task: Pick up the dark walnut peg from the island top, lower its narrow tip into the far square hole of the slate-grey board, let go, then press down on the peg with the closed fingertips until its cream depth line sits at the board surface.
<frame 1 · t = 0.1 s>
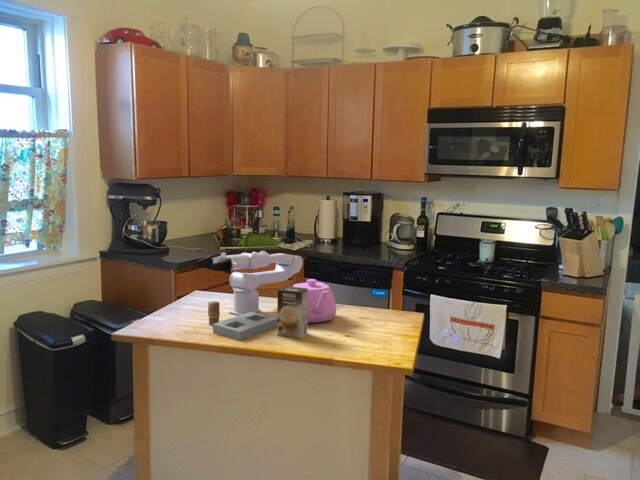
hand: (204, 265, 187), 22 cm above the countertop, tool horizontal, fingers open, 7 cm apart
teapot: (312, 319, 198), on the countertop
walnut peg: (214, 324, 191), on the countertop
coffee box: (292, 335, 181), on the countertop
slate board: (246, 329, 186), on the countertop
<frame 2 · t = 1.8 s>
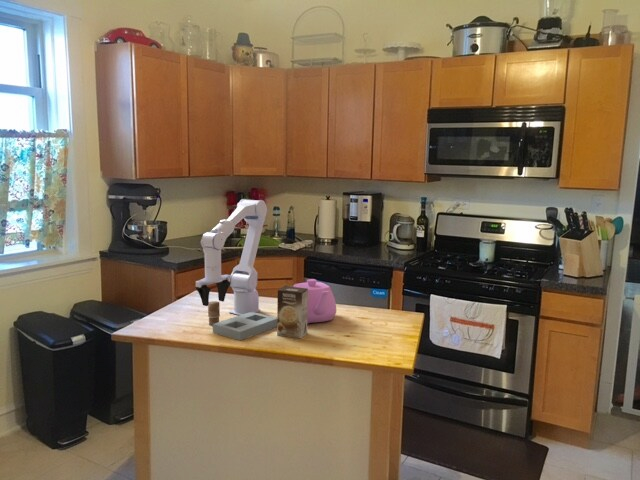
hand: (213, 303, 190), 8 cm above the countertop, tool pointing down, fingers open, 7 cm apart
nothing on the countertop moved.
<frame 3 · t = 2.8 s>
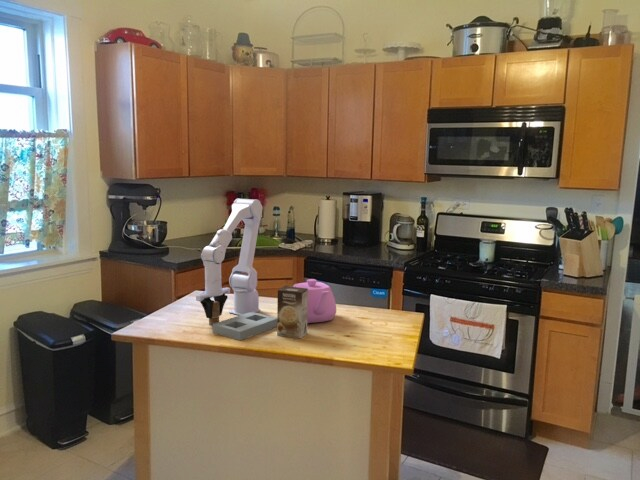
hand: (213, 316, 190), 3 cm above the countertop, tool pointing down, fingers closed on walnut peg, 4 cm apart
walnut peg: (214, 324, 191), on the countertop, touching gripper
everything else where it was.
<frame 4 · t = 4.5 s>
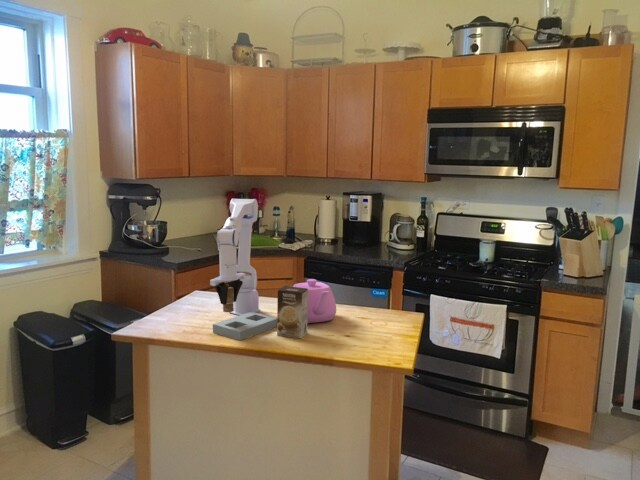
hand: (228, 302, 183), 10 cm above the countertop, tool pointing down, fingers closed on walnut peg, 4 cm apart
walnut peg: (228, 310, 183), point 7 cm above the countertop, touching gripper
everything else where it was.
when the fingers open (4 cm above the countertop, at t = 6.3 s): walnut peg drops 1 cm, resting in slate board.
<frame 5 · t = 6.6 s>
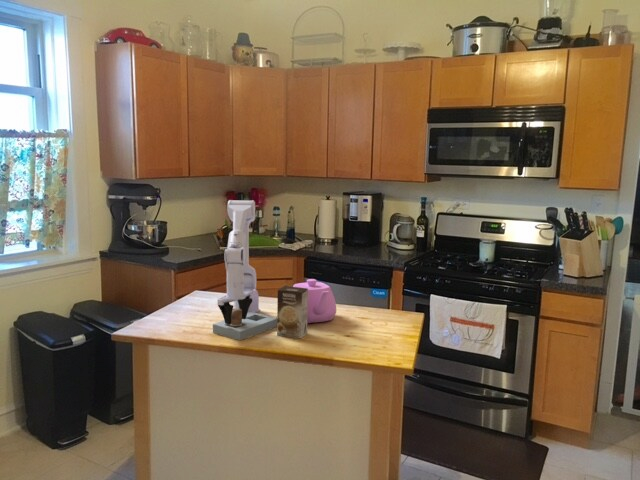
hand: (235, 321, 181), 4 cm above the countertop, tool pointing down, fingers open, 7 cm apart
walnut peg: (235, 332, 182), resting in slate board
everything else where it was.
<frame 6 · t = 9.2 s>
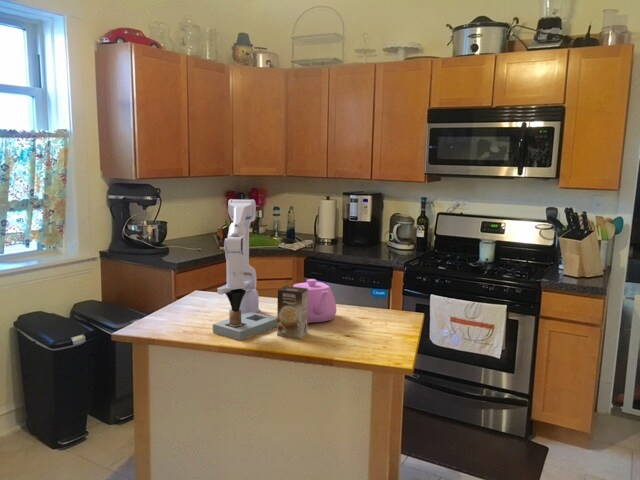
hand: (235, 310, 180), 8 cm above the countertop, tool pointing down, fingers closed, pressing on walnut peg
walnut peg: (235, 333, 182), resting in slate board, touching gripper
everything else where it was.
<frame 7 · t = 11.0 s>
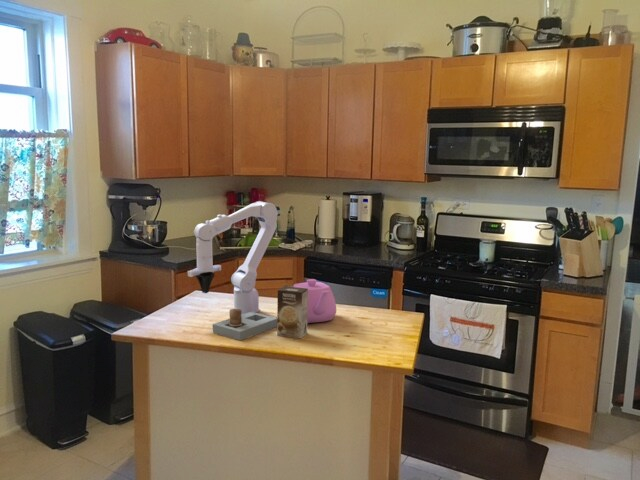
hand: (205, 292, 196), 10 cm above the countertop, tool pointing down, fingers closed
walnut peg: (235, 332, 182), resting in slate board
everything else where it was.
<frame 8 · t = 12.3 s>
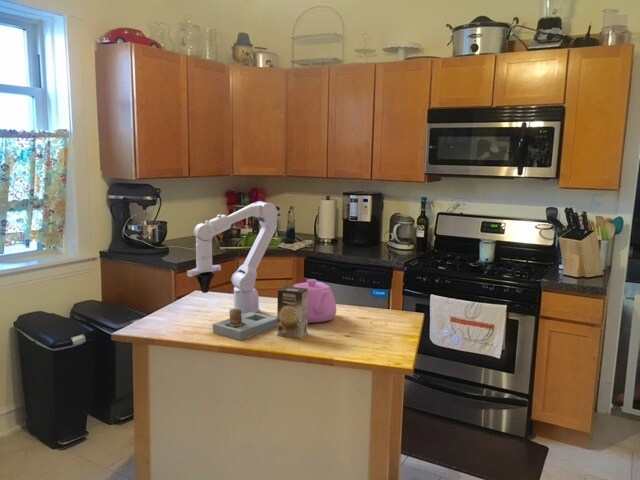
hand: (204, 292, 196), 10 cm above the countertop, tool pointing down, fingers closed
nothing on the countertop moved.
at the end: walnut peg 0.1 cm from the target spot on the slate board, point 0.0 cm above the slate board's base; walnut peg tilted 0°; the gripper is holding nothing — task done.
